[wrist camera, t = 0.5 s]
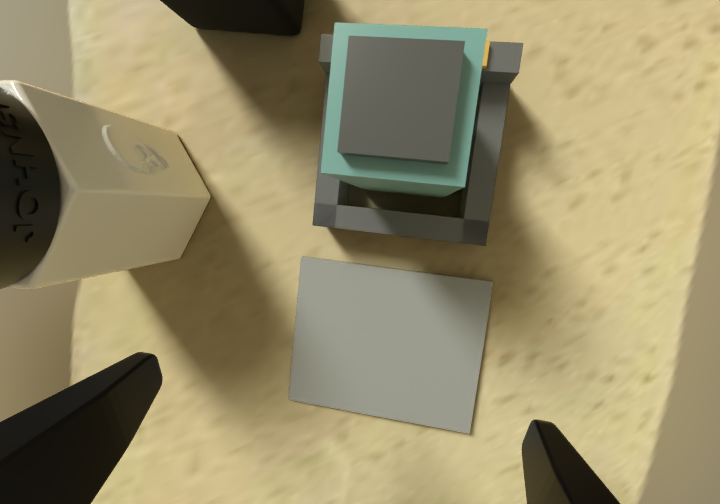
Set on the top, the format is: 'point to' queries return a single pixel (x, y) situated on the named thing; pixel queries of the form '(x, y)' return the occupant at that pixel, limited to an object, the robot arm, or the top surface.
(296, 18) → the battery
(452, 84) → the plug
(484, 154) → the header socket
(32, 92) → the jar
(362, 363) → the mat
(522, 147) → the top surface
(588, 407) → the top surface
